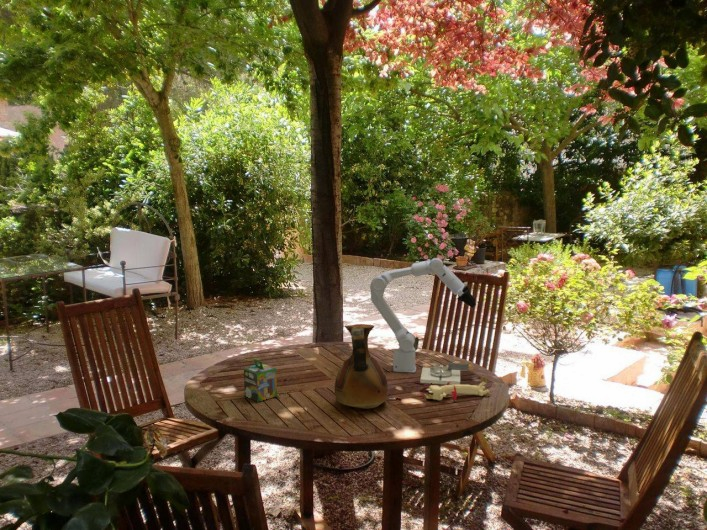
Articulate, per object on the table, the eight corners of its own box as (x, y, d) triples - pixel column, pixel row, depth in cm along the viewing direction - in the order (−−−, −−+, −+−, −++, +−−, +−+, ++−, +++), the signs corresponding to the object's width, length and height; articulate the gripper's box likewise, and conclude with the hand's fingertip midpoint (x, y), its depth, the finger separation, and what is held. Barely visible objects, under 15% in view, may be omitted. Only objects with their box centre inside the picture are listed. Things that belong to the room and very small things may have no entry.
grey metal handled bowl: (429, 376, 249) (429, 365, 249) (430, 369, 258) (430, 359, 257) (473, 378, 246) (473, 368, 246) (472, 372, 255) (473, 361, 254)
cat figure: (480, 393, 239) (420, 393, 233) (482, 372, 238) (422, 371, 232) (491, 402, 229) (429, 402, 223) (494, 380, 228) (431, 380, 222)
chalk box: (277, 397, 230) (277, 359, 228) (257, 403, 224) (257, 364, 222) (263, 390, 237) (262, 354, 235) (243, 396, 230) (242, 359, 228)
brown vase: (385, 394, 233) (386, 318, 229) (390, 414, 213) (391, 332, 209) (334, 395, 232) (334, 319, 228) (334, 415, 212) (334, 332, 208)
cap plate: (420, 382, 247) (420, 379, 246) (422, 370, 262) (422, 367, 262) (460, 385, 244) (460, 381, 244) (460, 372, 260) (460, 369, 259)
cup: (419, 356, 283) (419, 339, 282) (403, 356, 283) (403, 339, 282) (418, 351, 291) (418, 335, 289) (402, 351, 291) (402, 335, 289)
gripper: (458, 277, 247) (481, 301, 246) (458, 272, 261) (480, 294, 260) (445, 288, 248) (468, 312, 248) (446, 283, 262) (468, 305, 262)
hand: (474, 304), depth 254 cm, fingers open, 7 cm apart
